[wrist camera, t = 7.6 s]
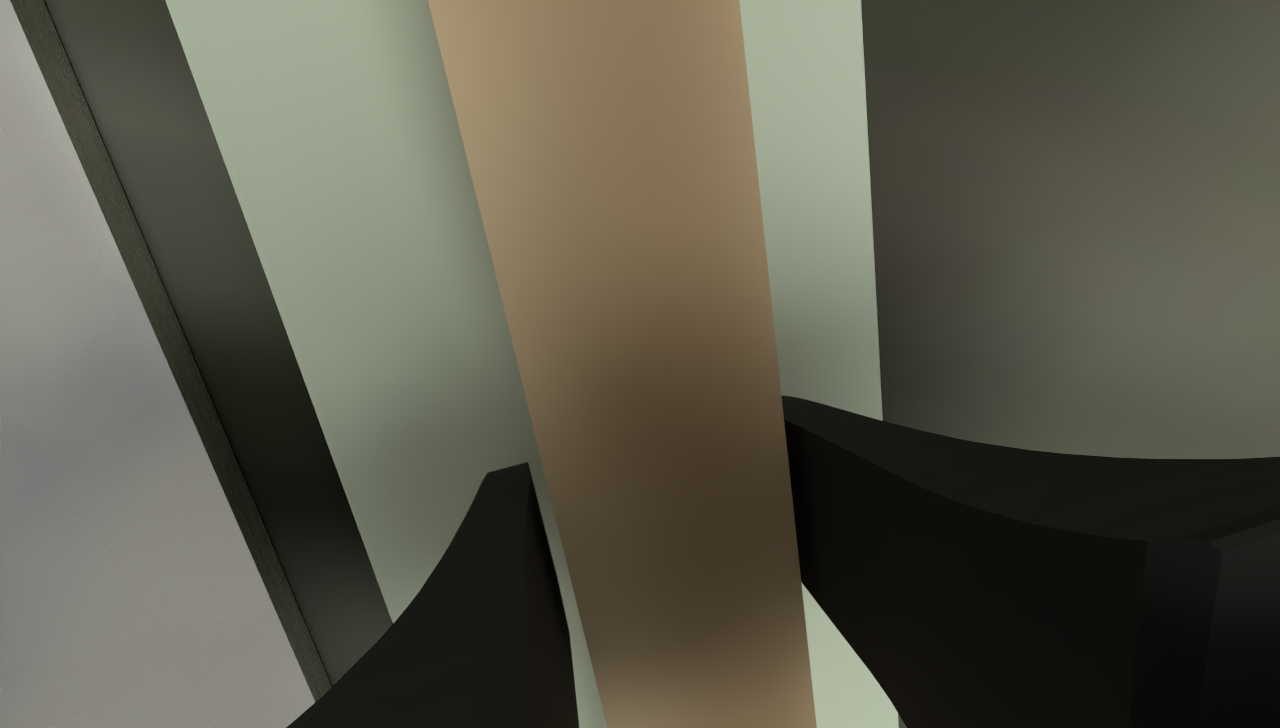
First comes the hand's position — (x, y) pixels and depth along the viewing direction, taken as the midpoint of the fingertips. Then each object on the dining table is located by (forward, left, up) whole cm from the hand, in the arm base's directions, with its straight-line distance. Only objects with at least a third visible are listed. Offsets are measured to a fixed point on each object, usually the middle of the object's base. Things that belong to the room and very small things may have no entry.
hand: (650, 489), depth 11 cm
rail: (0, 0, -1) cm, 1 cm away
